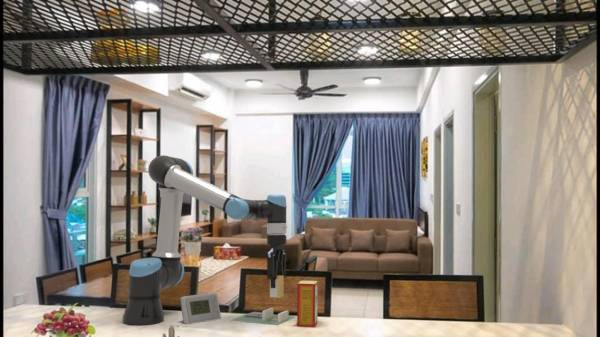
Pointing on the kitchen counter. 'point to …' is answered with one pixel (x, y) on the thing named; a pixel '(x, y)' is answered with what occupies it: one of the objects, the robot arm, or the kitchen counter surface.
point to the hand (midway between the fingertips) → (276, 295)
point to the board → (265, 317)
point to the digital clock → (200, 308)
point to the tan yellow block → (280, 286)
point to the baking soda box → (307, 303)
